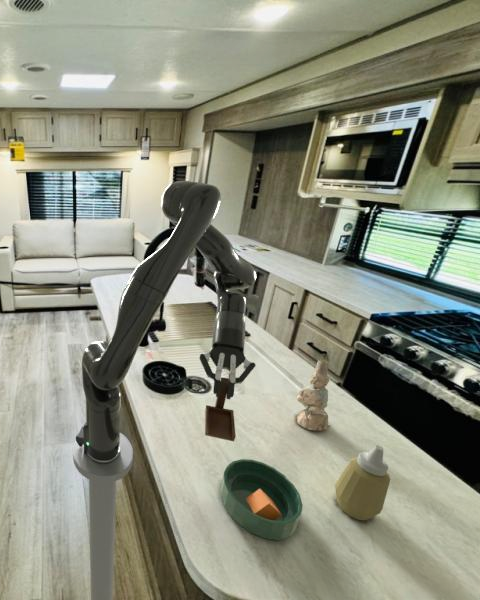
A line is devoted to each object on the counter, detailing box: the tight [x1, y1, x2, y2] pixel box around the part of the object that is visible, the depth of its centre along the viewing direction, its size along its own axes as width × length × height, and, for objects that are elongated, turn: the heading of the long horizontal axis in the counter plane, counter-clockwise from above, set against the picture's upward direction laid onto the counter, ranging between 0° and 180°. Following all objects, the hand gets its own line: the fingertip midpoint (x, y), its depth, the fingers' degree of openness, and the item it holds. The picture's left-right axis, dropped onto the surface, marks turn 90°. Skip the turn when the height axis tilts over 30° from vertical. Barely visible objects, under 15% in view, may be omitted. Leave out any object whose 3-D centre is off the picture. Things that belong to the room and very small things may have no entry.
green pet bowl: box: [220, 458, 303, 541], centre depth 70 cm, size 15×15×6 cm
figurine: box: [296, 360, 331, 431], centre depth 90 cm, size 9×8×20 cm
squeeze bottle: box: [334, 445, 391, 521], centre depth 67 cm, size 8×8×18 cm
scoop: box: [204, 376, 236, 442], centre depth 77 cm, size 9×7×12 cm
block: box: [246, 489, 282, 520], centre depth 67 cm, size 4×4×4 cm
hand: (223, 397), depth 76 cm, fingers closed on scoop
